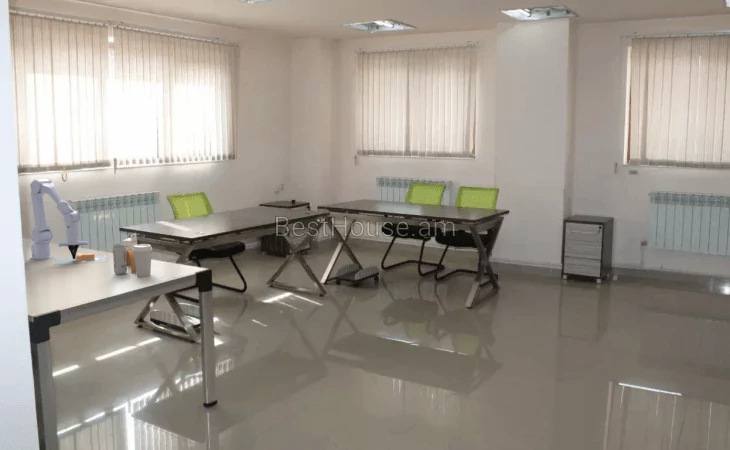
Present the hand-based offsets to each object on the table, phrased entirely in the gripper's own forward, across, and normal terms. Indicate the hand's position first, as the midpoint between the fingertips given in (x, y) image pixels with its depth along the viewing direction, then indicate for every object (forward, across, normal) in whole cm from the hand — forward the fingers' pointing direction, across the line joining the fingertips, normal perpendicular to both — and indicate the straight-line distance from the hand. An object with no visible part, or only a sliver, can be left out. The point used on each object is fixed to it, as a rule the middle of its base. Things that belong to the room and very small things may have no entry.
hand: (74, 258), depth 359 cm
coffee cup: (+2, +34, -48) cm, 59 cm away
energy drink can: (+2, +23, -40) cm, 46 cm away
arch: (+2, +30, -30) cm, 42 cm away
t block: (+1, +6, 0) cm, 6 cm away
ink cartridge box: (+2, +29, -6) cm, 29 cm away
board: (+1, +3, 0) cm, 3 cm away
